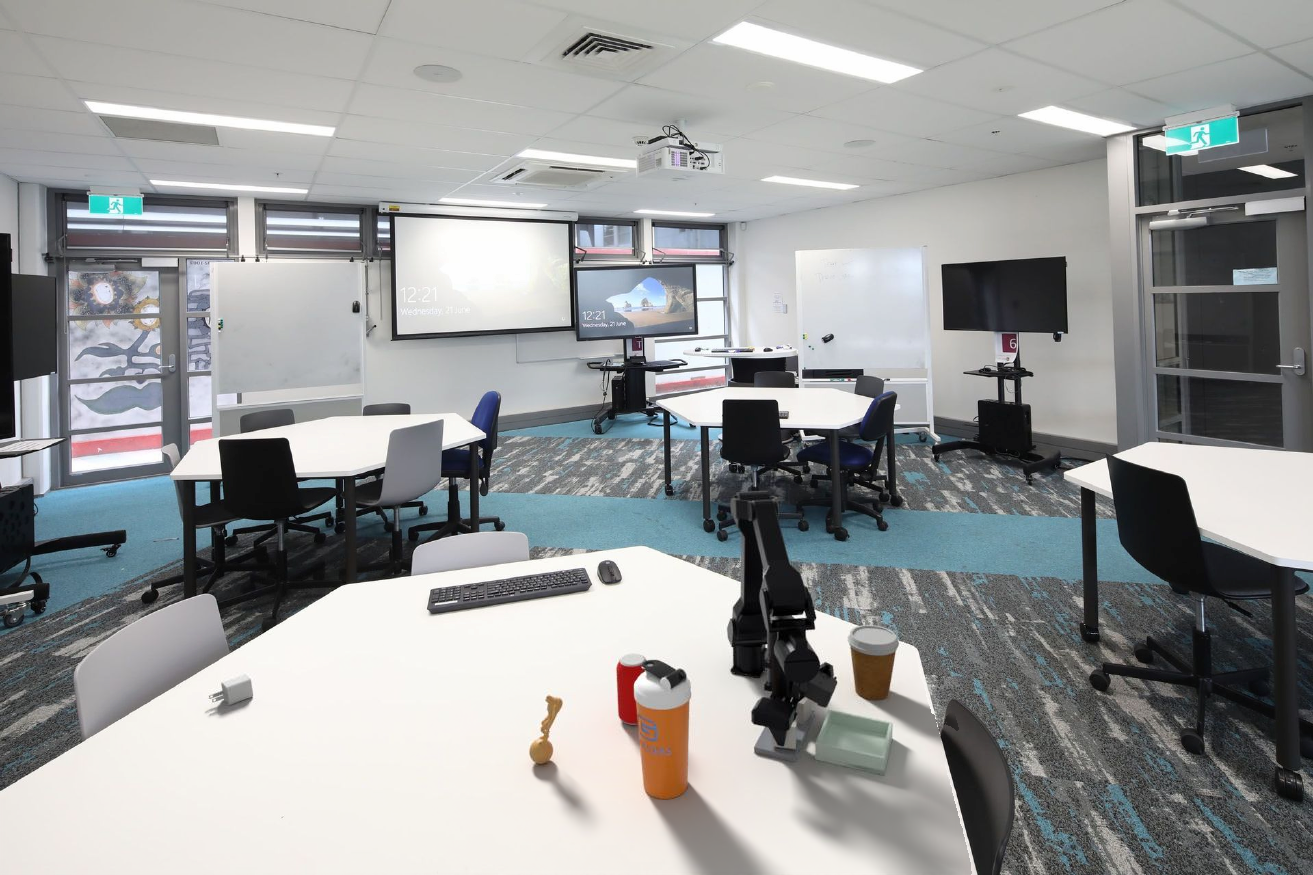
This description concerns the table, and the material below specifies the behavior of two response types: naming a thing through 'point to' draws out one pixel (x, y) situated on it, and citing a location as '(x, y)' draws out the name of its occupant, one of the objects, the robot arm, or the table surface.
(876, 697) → the disposable coffee cup
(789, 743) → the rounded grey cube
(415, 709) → the table surface
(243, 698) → the usb wall charger
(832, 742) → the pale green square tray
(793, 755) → the slate board
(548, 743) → the figurine
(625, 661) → the beverage can
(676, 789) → the shaker bottle
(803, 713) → the grey stone cube
